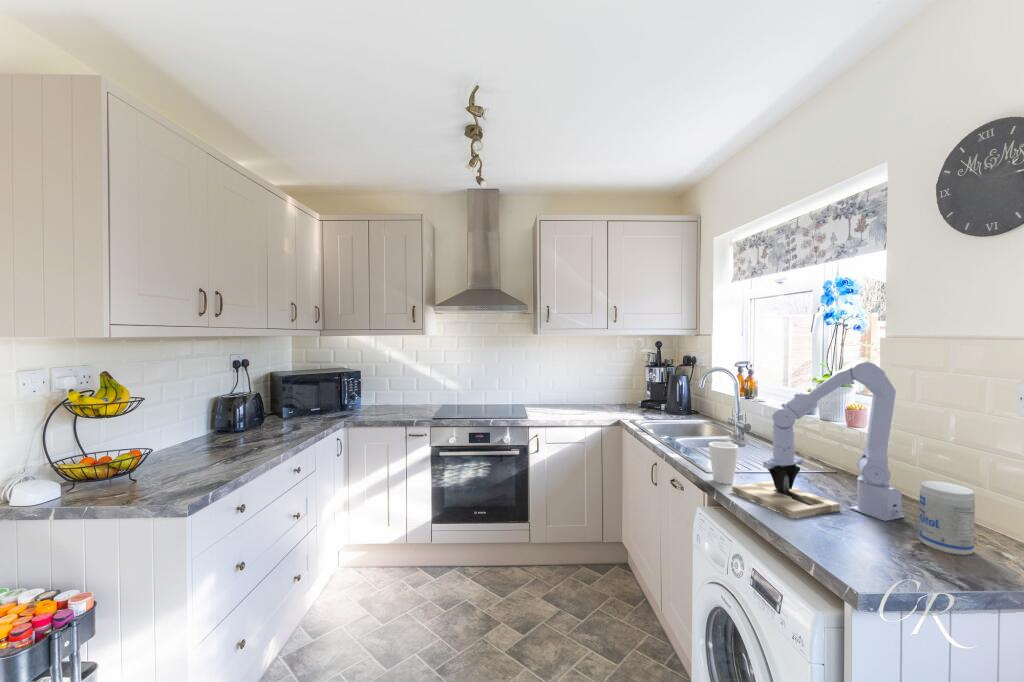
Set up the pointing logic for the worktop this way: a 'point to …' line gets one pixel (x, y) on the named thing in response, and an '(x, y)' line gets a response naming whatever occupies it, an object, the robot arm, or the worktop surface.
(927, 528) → the supplement tub
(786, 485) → the peg
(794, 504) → the keyhole board
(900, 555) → the worktop surface
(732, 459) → the foam cup
